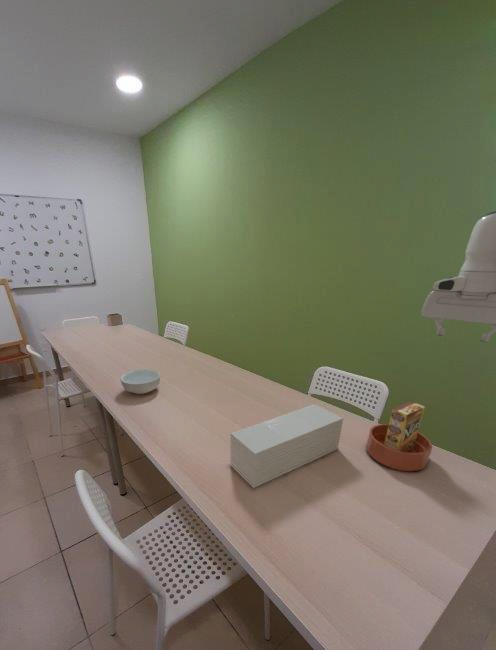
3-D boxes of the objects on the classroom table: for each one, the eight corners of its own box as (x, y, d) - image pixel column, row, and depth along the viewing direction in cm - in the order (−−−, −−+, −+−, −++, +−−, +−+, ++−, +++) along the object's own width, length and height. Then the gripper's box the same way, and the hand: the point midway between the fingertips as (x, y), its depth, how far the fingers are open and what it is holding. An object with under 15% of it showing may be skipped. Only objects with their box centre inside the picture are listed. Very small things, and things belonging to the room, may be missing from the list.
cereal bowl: (126, 401, 124) (124, 386, 121) (119, 387, 138) (117, 373, 135) (166, 393, 130) (164, 378, 127) (155, 380, 144) (154, 366, 141)
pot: (432, 455, 87) (438, 437, 85) (417, 480, 78) (423, 461, 75) (376, 434, 97) (380, 418, 95) (357, 455, 88) (361, 438, 86)
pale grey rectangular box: (253, 488, 77) (255, 453, 72) (230, 465, 85) (230, 433, 81) (337, 449, 91) (343, 418, 87) (310, 432, 99) (314, 403, 95)
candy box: (394, 463, 83) (408, 415, 77) (380, 455, 87) (391, 408, 81) (412, 453, 87) (426, 406, 81) (398, 445, 91) (410, 400, 84)
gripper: (539, 284, 69) (515, 342, 75) (433, 280, 83) (420, 330, 88) (538, 287, 65) (513, 348, 71) (427, 282, 79) (414, 334, 84)
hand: (461, 338), depth 80 cm, fingers open, 8 cm apart
